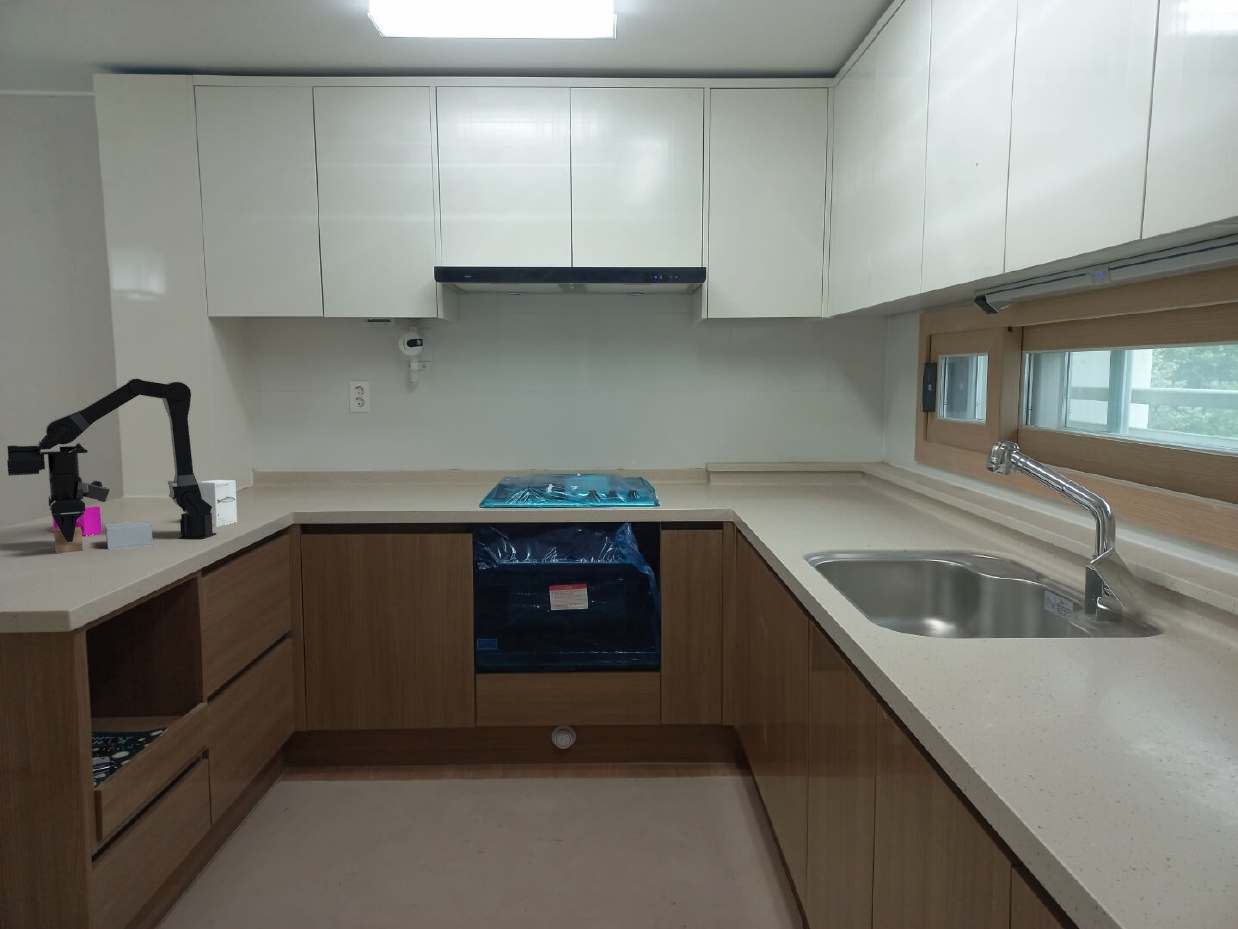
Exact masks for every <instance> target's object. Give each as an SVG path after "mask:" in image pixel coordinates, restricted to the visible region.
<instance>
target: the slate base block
mask: <svg viewBox="0 0 1238 929" xmlns="http://www.w3.org/2000/svg"><path fill="white" fill-rule="evenodd" d="M105 537H106V538H105V539H106V541H105V542H106V546H107V547H106V548H107V550H114V549H115V550H117V549H125V548H137V547H145V546H146V547H147V546H153V544H154V542H153V527H152V524H151V523H150V521H149V520H142V521H130V522H128V521H127V522H118V523H106V524H105Z"/></svg>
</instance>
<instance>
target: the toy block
mask: <svg viewBox="0 0 1238 929" xmlns="http://www.w3.org/2000/svg"><path fill="white" fill-rule="evenodd" d="M84 512H85V513H84V514H83V515H82V516H80V517H79V518H78V519H77V521H76V526H75V528H76V527H80V528H81V532H82V535H85V536H84V537H87V536H86V535H92V534H100V535H102V533H103V530H102V516H101V507H100V506H87V507H86V506H85V511H84ZM52 529H53V530H54V529H59V527H58V525H57V523H56V522H55V520H54V518H53V517H52Z"/></svg>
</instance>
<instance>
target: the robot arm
mask: <svg viewBox="0 0 1238 929" xmlns="http://www.w3.org/2000/svg"><path fill="white" fill-rule="evenodd" d="M190 388H191V387H189V386H188V385H187V384H186V383H184V382H181V381H171V382H168V383H163V382H162V383H161V382H156V381H149V380H143V379H141V378H131V379H130V380H128V381H127V382H126V383H124V384H123V385H121V386H120V387H118V388H116V389H115V390H113V391H111V392H109V393H108V394H106V395H103V397H101V398H99V399H97V400H95V401H94V402H92V403H90V404H89V405H87V406H85V407H84V408H82V409H80V410H77V411H74V412H72V413H69V414H67V415H64V416H61V417H59V418H55V419H54V420H51V421H50V422H49V423H48V424H47V426H46V428H45V433H46V434H45V435H44V437H43V438H42V439H41V440H39V441H38V443H37V445H17V444H16V445H15V444H14V445H12V444H11V445H7V460H6V461H7V462H6V465H7V475H8V476H9V477H10V476H27V475H28V476H29V475H30V476H31V475H40V471H42V470H46V463H45V462H46V461H45V455H47V463H48V464H47V465H48V481H49V496H48V498H47V499H48V507H49V510H50V513H51V517H52V519H53V518H54V520H55V522H56V523H57V525H58V527H59V529H60V530H61V532H62V534H63V536H64V538H65V540H66V541H67V542H72V541H73V537H74V532H75V526H76V521H77V519H78V518H79V517H80V516H82V515H83V514H84V513H85V512H84V511H85V507H86V503H85V502H84V501H83V500H84V498H89V499H93V500H97V501H98V502H102V503H106V501H107V498H108V496H109V493H110V488H108V487H106V486H103V483H102V481H98V480H92V481H91V482H90V483H89V482H83V479H82V477H81V476H80V466H79V464H80V463H79V454H88V452H89V451H88V449H86V448H85V447H83V445H82V444H81V443H80V442H77V443H76V444H75V445H74V446H73V445H72V446H71V445H70V446H69V444H71V443H72V442H74V441H75V440H76V439H77V438H78V437H79V436H81V435H82V434H83V433H84V432H85V431H86V430H87V429H88V428H90V426H91V425H93V424H94V423H95V422H97V421H98V420H100V419H102V418H103V417H105V416H107V415H108V414H110V413H112V412H113V411H115V410H117V409H119V408H120V407H121V406H123V405H125V404H127V403H128V402H130V401H131V400H133V399H134V398H137V397H138V396H143V397H144V396H145V397H150V398H155V399H161V400H162V403H163V406H164V409H165V412H166V414H167V416H168V420H169V427H170V435H171V436H170V438H171V447H172V454H173V455H172V456H173V457H172V458H173V465H174V477H173V480H168V481H167V486H168V489H169V494H168V497H169V498H171V500H172V502H173V503H174V504H175V505H177V507H180V509H182V512H183V513H181V514H180V516H181V517H180V518H181V519H180V520H179V526H180V536H177V538H178V540H180V539H181V540H183V539H184V540H185V539H186V540H191V539H192V540H203V539H206V538H209V537H213V536H216V535H217V532H213V530H214V529H213V527H212V512H211V509H212V506H211V505H209V504H208V503H207V502H205V501H204V500H203V499H202V496H201V492H200V489H199V486H198V483H197V482H198V480H197V478H196V475H195V473H194V468H193V458H192V449H191V448H192V447H191V440H190V439H191V438H190V426H189V413H190V408H191V398H192V392H191V389H190ZM58 445H67V446H59V450H52V451H51V449H53V448H54V447H56V446H58ZM42 450H47V451H42ZM48 450H49V451H48Z"/></svg>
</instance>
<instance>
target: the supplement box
mask: <svg viewBox="0 0 1238 929" xmlns="http://www.w3.org/2000/svg"><path fill="white" fill-rule="evenodd" d="M197 483H198V486H199V489H200V492H201V496H202V499H203V500H204V501H205V502H207V503H208V504H209V505H211V506H212V509H211V512H212V528H213V527H214V528H218V527H223V526H226V525H231V524H235V523H234V522H236V523H238V510H237V509H238V508H237V485H236V483H237V482H236V480H233V479H232V480H231V479H212V480H202V481H197ZM230 523H231V524H230Z"/></svg>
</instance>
